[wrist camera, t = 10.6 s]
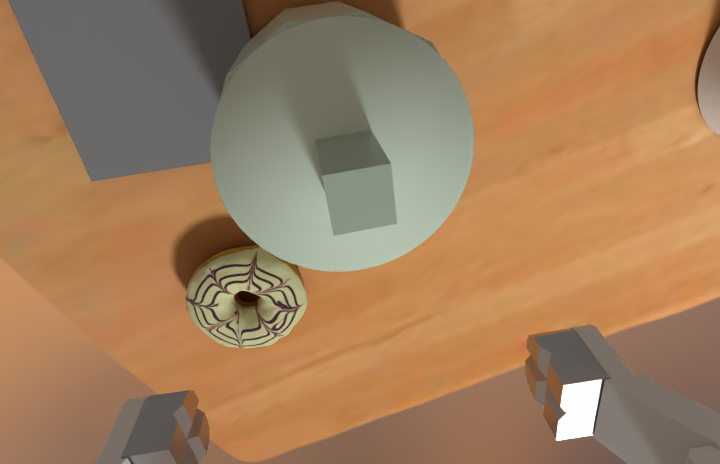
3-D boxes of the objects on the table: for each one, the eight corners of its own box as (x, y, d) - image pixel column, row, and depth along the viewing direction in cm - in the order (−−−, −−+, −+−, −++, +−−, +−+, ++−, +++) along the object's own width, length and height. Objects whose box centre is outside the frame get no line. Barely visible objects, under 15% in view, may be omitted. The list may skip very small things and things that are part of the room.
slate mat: (227, -68, 30) (225, -69, 29) (277, 149, 37) (276, 151, 37) (-3, -34, 29) (-8, -34, 29) (94, 178, 37) (91, 181, 36)
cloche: (408, -11, 32) (522, -2, 17) (421, 172, 39) (508, 295, 24) (210, 20, 31) (140, 59, 16) (259, 202, 39) (243, 349, 23)
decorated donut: (327, 292, 45) (329, 317, 42) (243, 343, 47) (238, 371, 44) (260, 217, 40) (255, 238, 37) (169, 277, 42) (157, 302, 39)
